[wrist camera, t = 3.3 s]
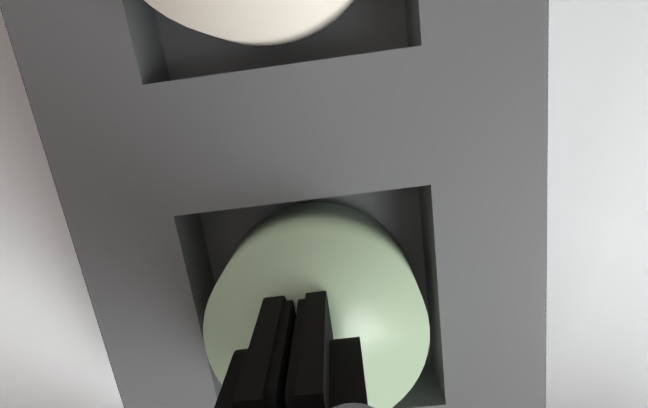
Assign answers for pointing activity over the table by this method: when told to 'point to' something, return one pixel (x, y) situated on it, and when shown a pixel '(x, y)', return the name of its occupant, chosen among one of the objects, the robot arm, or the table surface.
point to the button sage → (337, 280)
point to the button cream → (254, 18)
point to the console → (301, 172)
